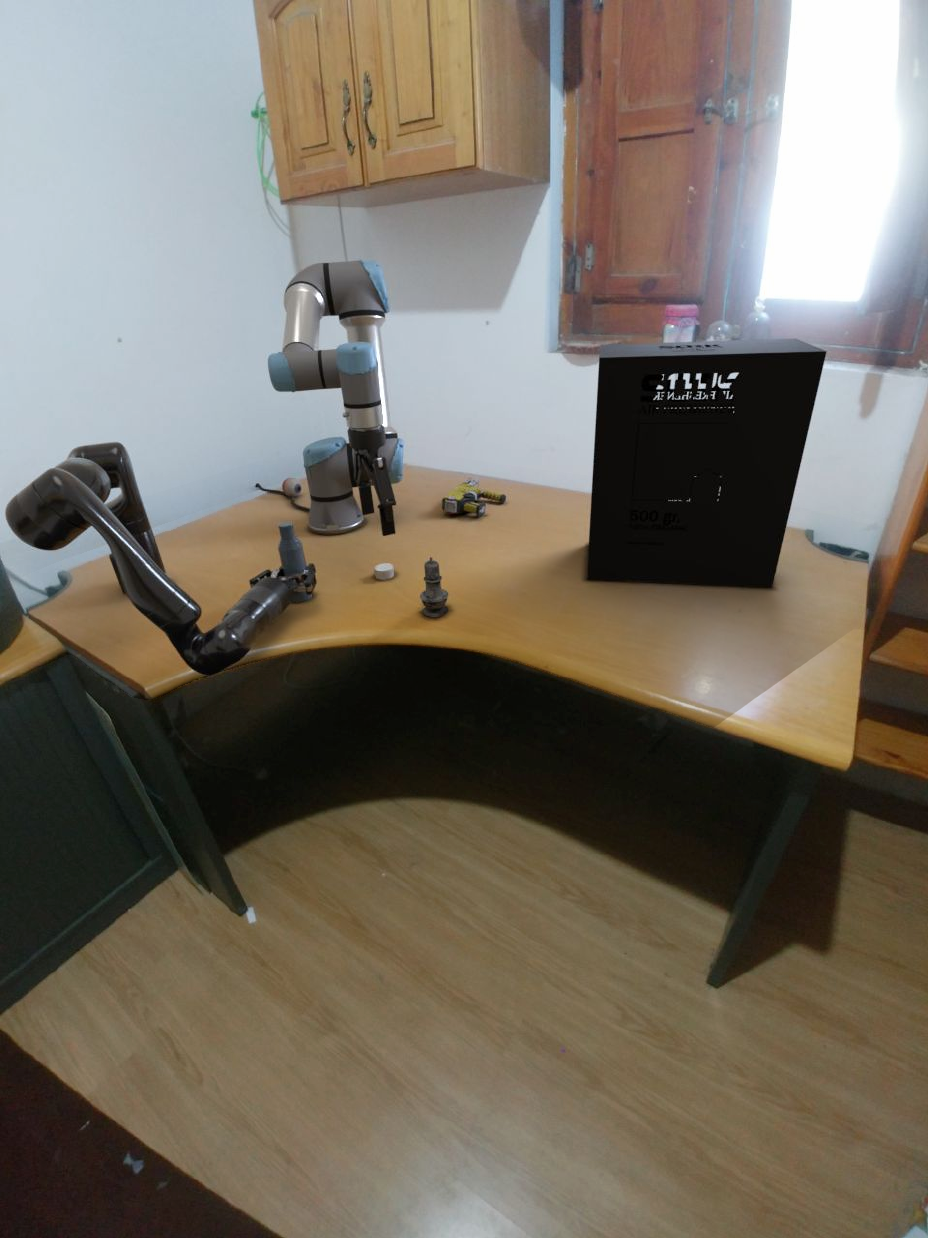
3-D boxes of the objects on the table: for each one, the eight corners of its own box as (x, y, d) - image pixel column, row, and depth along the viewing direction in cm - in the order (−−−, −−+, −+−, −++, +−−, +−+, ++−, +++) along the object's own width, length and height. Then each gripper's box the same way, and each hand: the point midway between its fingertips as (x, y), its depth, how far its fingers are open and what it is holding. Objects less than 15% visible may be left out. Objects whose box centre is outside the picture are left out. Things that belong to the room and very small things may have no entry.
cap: (394, 571, 141) (393, 562, 140) (394, 579, 138) (392, 570, 136) (376, 572, 141) (374, 563, 140) (375, 580, 137) (373, 571, 136)
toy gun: (514, 482, 184) (468, 475, 188) (491, 505, 164) (440, 497, 168) (513, 497, 186) (467, 490, 190) (490, 522, 166) (439, 513, 170)
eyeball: (294, 500, 190) (290, 481, 187) (280, 497, 193) (276, 479, 190) (307, 494, 194) (304, 476, 191) (294, 492, 197) (290, 474, 194)
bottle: (303, 603, 129) (288, 529, 121) (284, 600, 131) (267, 527, 123) (316, 593, 133) (302, 520, 125) (298, 590, 135) (282, 518, 127)
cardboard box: (752, 548, 142) (795, 338, 119) (772, 587, 124) (826, 351, 102) (589, 543, 149) (600, 344, 127) (586, 579, 132) (599, 357, 110)
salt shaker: (446, 618, 120) (442, 563, 114) (417, 616, 122) (412, 562, 116) (452, 604, 125) (448, 551, 119) (425, 602, 126) (420, 550, 120)
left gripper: (293, 588, 114) (328, 551, 128) (225, 585, 117) (267, 549, 131) (301, 622, 118) (334, 583, 132) (234, 618, 120) (274, 580, 135)
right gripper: (330, 416, 131) (345, 509, 142) (367, 443, 111) (381, 548, 123) (363, 411, 133) (375, 502, 145) (405, 437, 114) (415, 539, 125)
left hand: (300, 566), depth 131 cm, fingers closed on bottle, 5 cm apart
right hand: (378, 523), depth 134 cm, fingers open, 13 cm apart
